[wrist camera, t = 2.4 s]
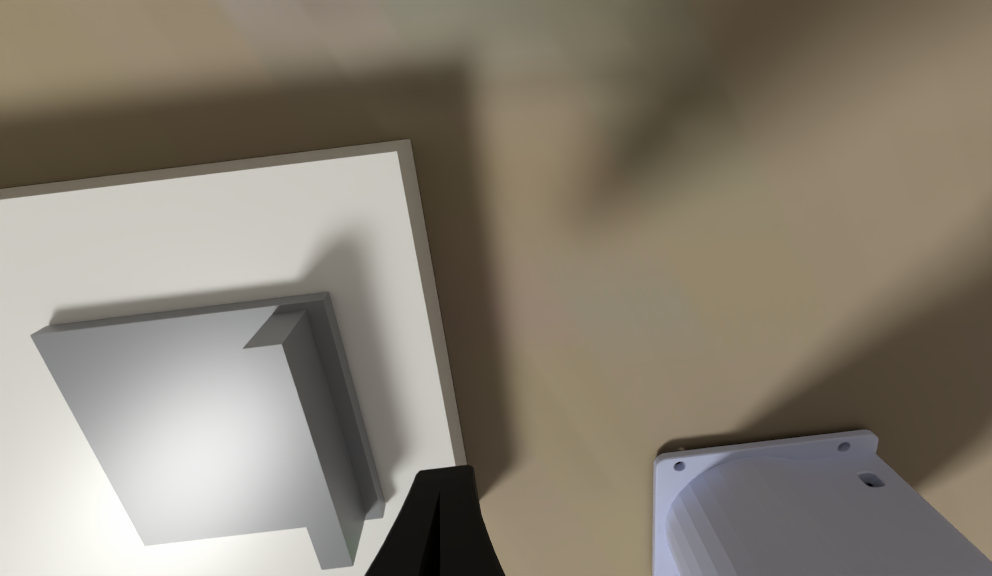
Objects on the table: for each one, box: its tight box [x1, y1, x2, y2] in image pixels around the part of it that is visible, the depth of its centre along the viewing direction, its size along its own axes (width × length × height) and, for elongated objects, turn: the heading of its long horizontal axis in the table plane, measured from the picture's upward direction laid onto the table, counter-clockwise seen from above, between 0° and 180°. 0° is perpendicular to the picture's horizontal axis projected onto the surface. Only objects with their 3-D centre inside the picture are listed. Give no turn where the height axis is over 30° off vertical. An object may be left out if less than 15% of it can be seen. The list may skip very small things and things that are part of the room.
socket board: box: [0, 139, 467, 576], centre depth 18 cm, size 21×16×3 cm
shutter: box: [30, 292, 386, 570], centre depth 15 cm, size 8×8×3 cm
